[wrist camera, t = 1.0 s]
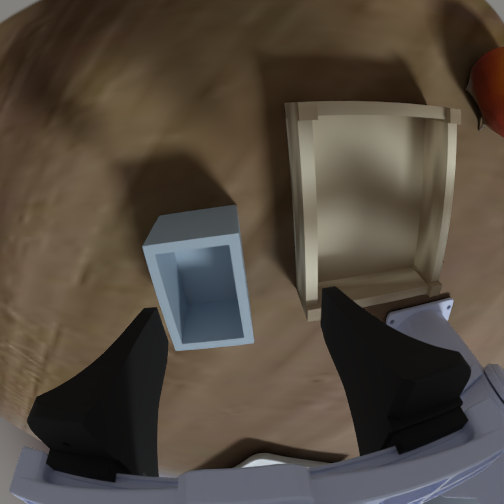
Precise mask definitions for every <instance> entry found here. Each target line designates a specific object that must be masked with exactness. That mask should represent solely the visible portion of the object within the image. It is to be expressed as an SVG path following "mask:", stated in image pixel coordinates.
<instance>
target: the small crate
mask: <svg viewBox="0 0 504 504" xmlns="http://www.w3.org/2000/svg"><path fill="white" fill-rule="evenodd" d="M142 247H143V251H144V255H145V258H146V262H147V265H148V268H149V272H150V275H151V278H152V282H153V285H154V288H155V291H156V294H157V298H158V301H159V304H160V307H161V310H162V313H163V316H164V319H165V322H166V325H167V327H168V330H169V333H170V336H171V339H172V341H173V344H174V347H175V350H176V351H180V350H192V349H204V348H215V347H224V346H234V345H242V344H250V343H254V336H253V328H252V319H251V310H250V302H249V294H248V287H247V280H246V272H245V265H244V258H243V250H242V243H241V235H240V228H239V220H238V213H237V205H230V206H222V207H215V208H208V209H201V210H194V211H187V212H180V213H174V214H167V215H161V216H159V217H158V219H157V221H156V222H155V224H154V226H153V228H152V229H151V231H150V233H149V235H148V237H147V238H146V240H145V242H144V244H143V246H142Z"/></svg>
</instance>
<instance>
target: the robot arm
mask: <svg viewBox="0 0 504 504" xmlns="http://www.w3.org/2000/svg"><path fill="white" fill-rule="evenodd" d="M452 305H453V299H452V298H451V297H450V298H446V299H442V300H438V301H434V302H430V303H427V304H422V305H418V306H414V307H410V308H406V309H402V310H397V311H393V312H390V313H389V314H388V315H387V319H386V324H385V323H383V322H382V321H380V320H379V319H377V318H376V317H374V316H373V315H371V314H370V313H369V312H367V311H366V310H364V309H363V308H362V307H361V306H359V305H358V304H357V303H355V302H354V301H353V300H352V299H350V298H349V297H348V296H347V295H346V294H344V293H343V292H342V291H341V290H340V289H338V288H337V287H336V286H333V287H327V288H322V302H321V328H322V332H323V335H324V339H325V342H326V345H327V347H328V350H329V352H330V355H331V357H332V359H333V362H334V364H335V366H336V369H337V371H338V373H339V376H340V378H341V381H342V383H343V386H344V389H345V392H346V396H347V399H348V403H349V407H350V411H351V415H352V419H353V423H354V427H355V432H356V437H357V442H358V447H359V453H360V457H356V458H352V459H348V460H344V461H340V462H336V463H331V464H327V465H322V466H317V467H312V468H307V467H306V466H303V465H299V464H294V463H286V464H272V465H264V466H254V467H243V468H228V469H202V470H193V471H188V472H186V473H184V474H182V475H180V476H179V478H163V477H159V474H158V458H157V424H158V408H159V400H160V395H161V390H162V385H163V380H164V375H165V370H166V364H167V356H168V339H167V336H166V333H165V330H164V327H163V324H162V321H161V319H160V315H159V312H158V309H157V307H153V308H144V309H143V310H142V311H141V312H140V313H139V314H138V316H137V317H136V318H135V319H134V320H133V321H132V323H131V324H130V325H129V326H128V327H127V328H126V330H125V331H124V332H123V333H122V334H121V335H120V337H119V338H118V339H117V340H116V341H115V342H114V343H113V344H112V345H111V346H110V347H109V348H108V349H107V350H106V351H105V352H104V353H103V354H102V355H101V356H100V357H99V358H98V359H96V360H95V361H94V362H93V363H92V364H91V365H89V366H88V367H87V368H85V369H84V370H83V371H81V372H80V373H79V374H77V375H76V376H74V377H73V378H71V379H70V380H68V381H67V382H65V383H63V384H62V385H60V386H58V387H56V388H54V389H52V390H50V391H48V392H46V393H44V394H42V395H40V396H37V397H36V400H35V402H34V404H33V407H32V409H31V411H30V414H29V416H28V419H27V423H28V425H29V427H30V429H31V430H32V431H33V432H34V434H35V435H36V436H37V437H38V438H39V439H40V440H41V441H42V442H44V443H45V444H46V445H47V446H48V447H49V448H50V451H49V455H48V454H46V453H45V452H42V451H39V450H36V449H32V448H28V447H25V446H24V447H23V448H22V451H21V455H20V457H19V460H18V463H17V466H16V470H15V473H14V476H13V480H12V483H11V486H10V490H9V491H10V493H12V494H13V495H15V496H16V497H18V498H20V499H21V500H23V501H24V502H26V503H27V504H422V503H424V502H427V501H429V500H431V499H432V498H435V497H437V496H439V495H442V496H443V497H448V498H475V499H477V500H478V502H479V503H480V504H504V370H503V369H502V368H501V367H500V366H499V365H498V364H488V365H487V366H486V367H485V368H484V367H482V365H481V364H480V363H479V361H478V360H477V359H476V357H475V356H474V354H473V353H472V352H471V350H470V349H469V348H468V346H467V345H466V344H465V343H464V341H463V340H462V339H461V337H460V336H459V335H458V334H457V332H456V331H455V330H454V328H453V327H452V326H451V325H450V323H449V322H448V318H449V314H450V311H451V308H452ZM391 320H392V321H391Z"/></svg>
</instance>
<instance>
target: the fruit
mask: <svg viewBox="0 0 504 504" xmlns="http://www.w3.org/2000/svg"><path fill="white" fill-rule="evenodd" d="M465 90H467V91H468V92H469V93H470V94H471V95H472V96H473V98H474V99H475V101H476V103H477V104H478V106H479V108H480V111H481V114H482V126H481V128H480V129H479V131H480V130H481V129H482V128H484V127H485V126H488V127H489V128H490V129H491V130H493V131H494V132H496V133H498V134H499V135H501V136H502V137H504V47H500V48H496V49H493V50H491V51H489V52H487V53H486V54H484V55H482V56H481V57H480V58H479V59H478V61H477V62H476V63H475V64H474V66H473V67H472V68H471V73H470V79H469V83H468V86H467V88H466V89H465Z"/></svg>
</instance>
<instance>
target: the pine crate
mask: <svg viewBox="0 0 504 504" xmlns="http://www.w3.org/2000/svg"><path fill="white" fill-rule="evenodd" d="M284 106H285V116H286V127H287V138H288V150H289V162H290V175H291V190H292V205H293V221H294V240H295V260H296V285H297V292H298V295H299V298H300V301H301V304H302V307H303V309H304V312H305V315H306V318H307V321H308V322H309V321H316V320H321V302H322V288H327V287H333V286H336V287H337V288H338V289H340V290H341V291H342V292H343V293H344V294H346V295H347V296H348V297H349V298H350V299H352V300H353V301H354V302H355V303H357V304H358V305H359V306H361V307H367V306H372V305H377V304H382V303H387V302H392V301H396V300H401V299H406V298H410V297H414V296H419V295H423V294H427V295H428V296H429V297H433V296H437V295H439V294H440V290H441V286H442V284H441V283H440V282H439V277H440V273H441V268H442V263H443V258H444V253H445V248H446V242H447V236H448V230H449V223H450V216H451V208H452V199H453V190H454V178H455V164H456V138H457V124H461V110H460V109H453V108H446V107H438V106H429V105H419V104H407V103H393V102H372V101H313V102H291V103H284Z"/></svg>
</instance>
